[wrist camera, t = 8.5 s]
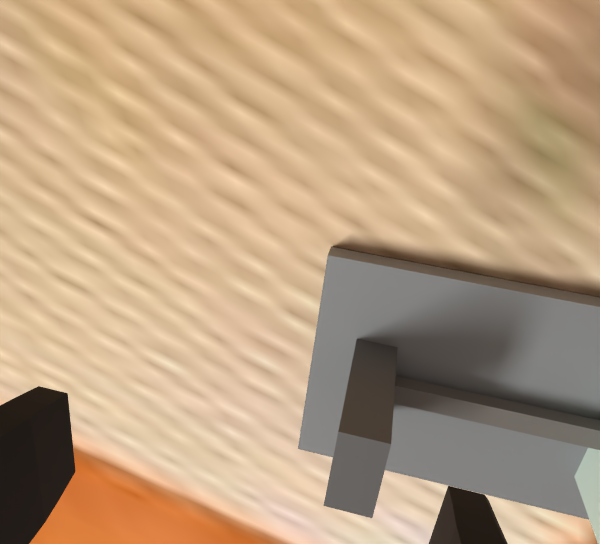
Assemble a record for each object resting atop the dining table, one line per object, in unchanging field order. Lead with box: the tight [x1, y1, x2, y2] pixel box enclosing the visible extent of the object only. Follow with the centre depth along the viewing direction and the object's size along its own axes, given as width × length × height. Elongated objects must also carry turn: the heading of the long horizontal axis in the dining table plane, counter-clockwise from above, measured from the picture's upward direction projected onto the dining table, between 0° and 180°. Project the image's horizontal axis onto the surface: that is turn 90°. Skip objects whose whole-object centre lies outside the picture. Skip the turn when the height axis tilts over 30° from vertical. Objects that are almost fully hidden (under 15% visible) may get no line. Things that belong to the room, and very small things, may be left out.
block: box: [324, 339, 600, 544], centre depth 17 cm, size 5×14×5 cm, turn 83°
